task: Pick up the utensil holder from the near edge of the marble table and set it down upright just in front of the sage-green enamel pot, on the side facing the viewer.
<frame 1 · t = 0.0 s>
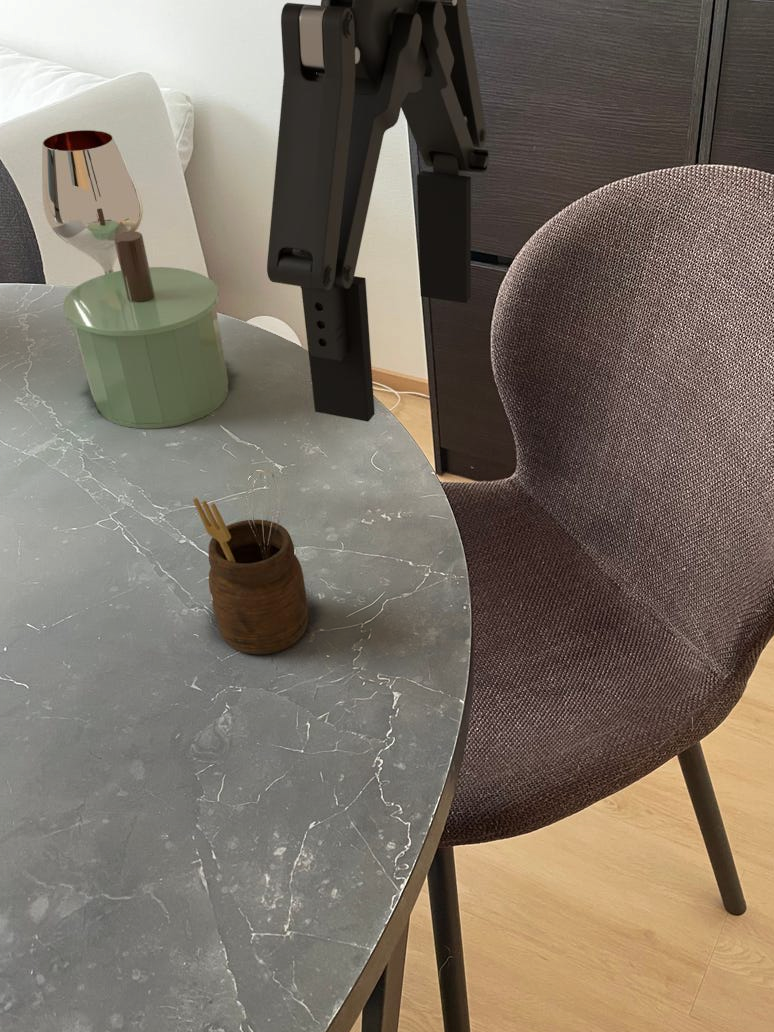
hand: (399, 350, 53), 21 cm above the table, tool pointing down, fingers open, 13 cm apart
pot lid: (142, 302, 86), point 8 cm above the table, touching pot
pot: (162, 395, 92), on the table
utensil holder: (263, 631, 69), on the table
wineglass: (125, 342, 100), on the table
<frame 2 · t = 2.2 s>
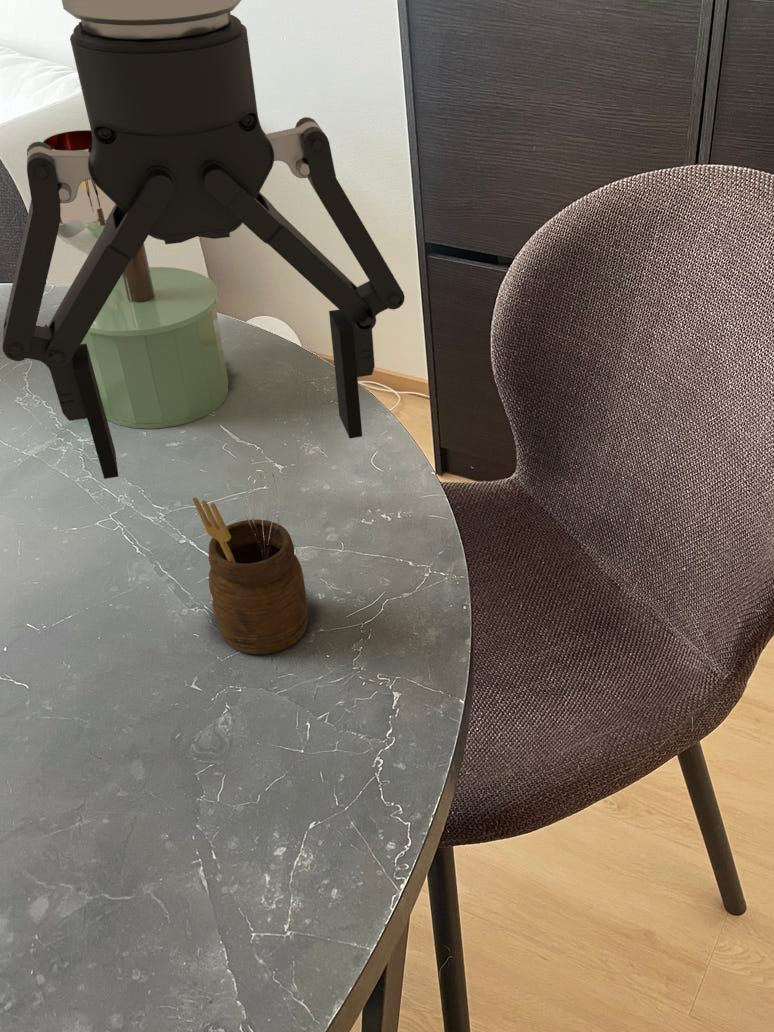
hand: (233, 445, 59), 14 cm above the table, tool pointing down, fingers open, 13 cm apart
nothing on the table moved.
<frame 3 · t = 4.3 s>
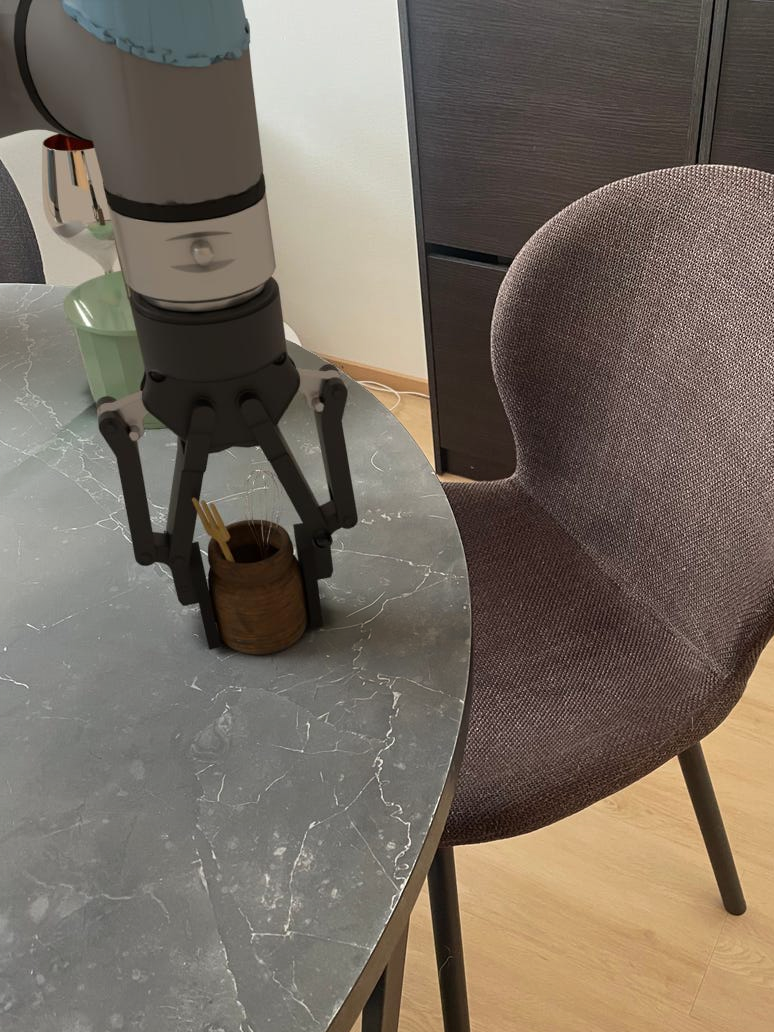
hand: (263, 624, 68), 0 cm above the table, tool pointing down, fingers closed on utensil holder, 6 cm apart
utensil holder: (263, 631, 69), on the table, touching gripper
everything else where it was.
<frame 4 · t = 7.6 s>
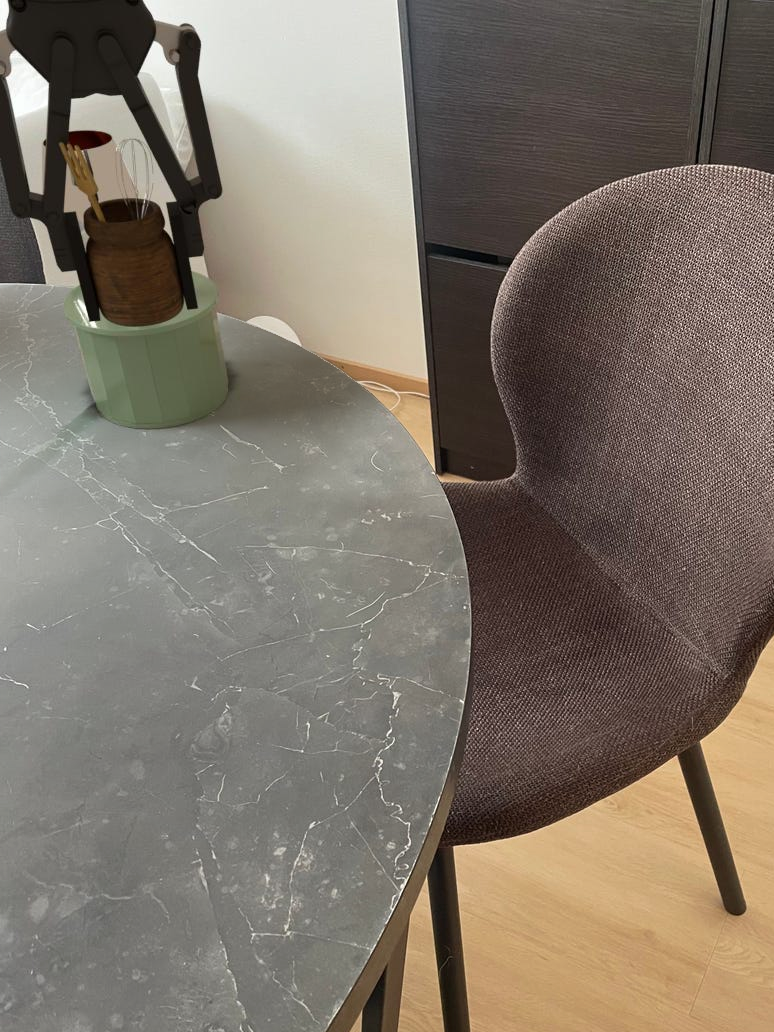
hand: (142, 306, 74), 14 cm above the table, tool pointing down, fingers closed on utensil holder, 6 cm apart
utensil holder: (143, 314, 74), point 13 cm above the table, touching gripper
everything else where it was.
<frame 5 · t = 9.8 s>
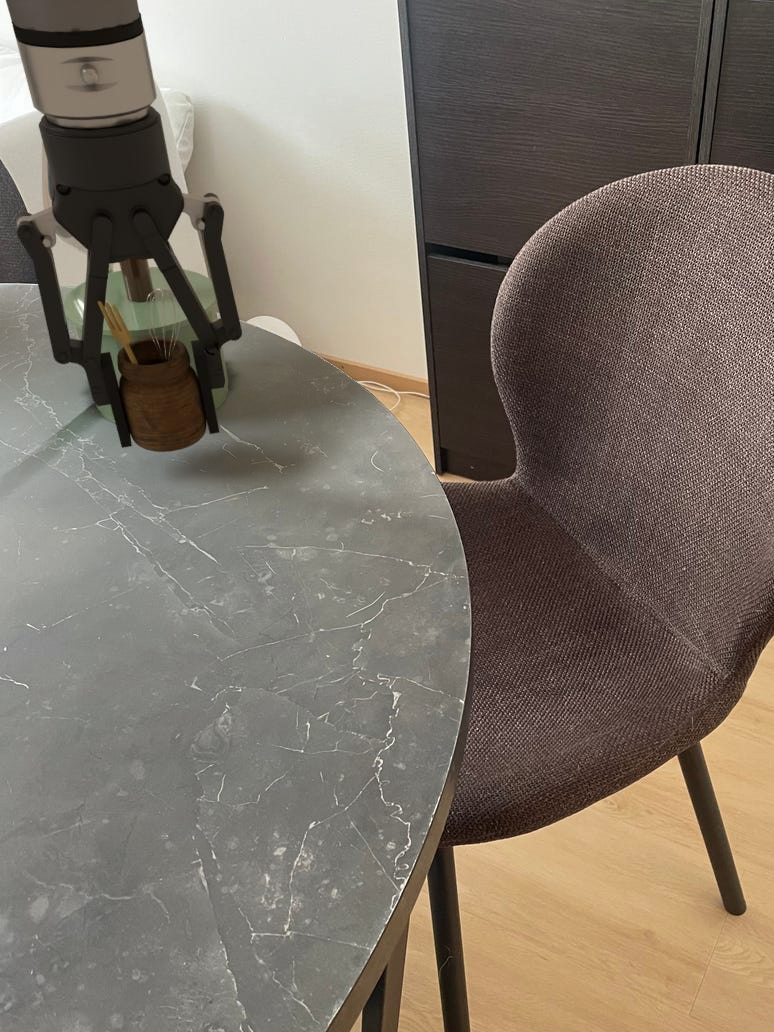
hand: (169, 431, 81), 3 cm above the table, tool pointing down, fingers closed on utensil holder, 6 cm apart
utensil holder: (169, 437, 82), point 2 cm above the table, touching gripper
everything else where it was.
when the fingers open (0 cm above the table, at t = 10.9 s): utensil holder stays where it is, on the table.
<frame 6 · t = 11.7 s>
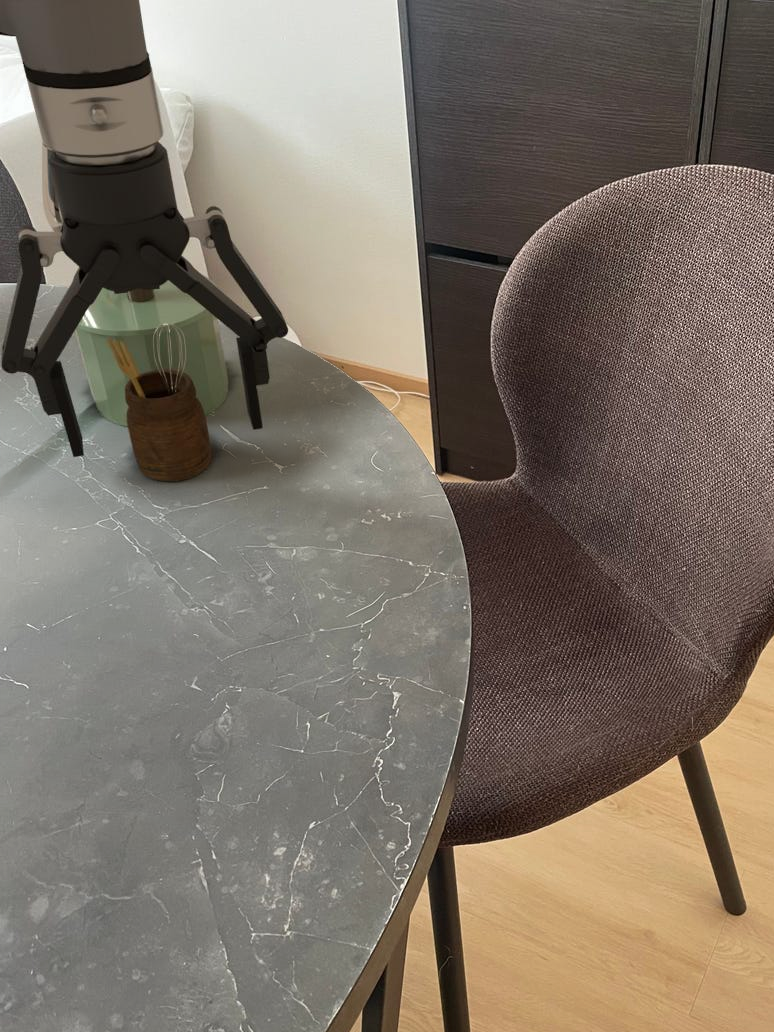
hand: (168, 434, 82), 3 cm above the table, tool pointing down, fingers open, 13 cm apart
utensil holder: (175, 466, 83), on the table
everything else where it was.
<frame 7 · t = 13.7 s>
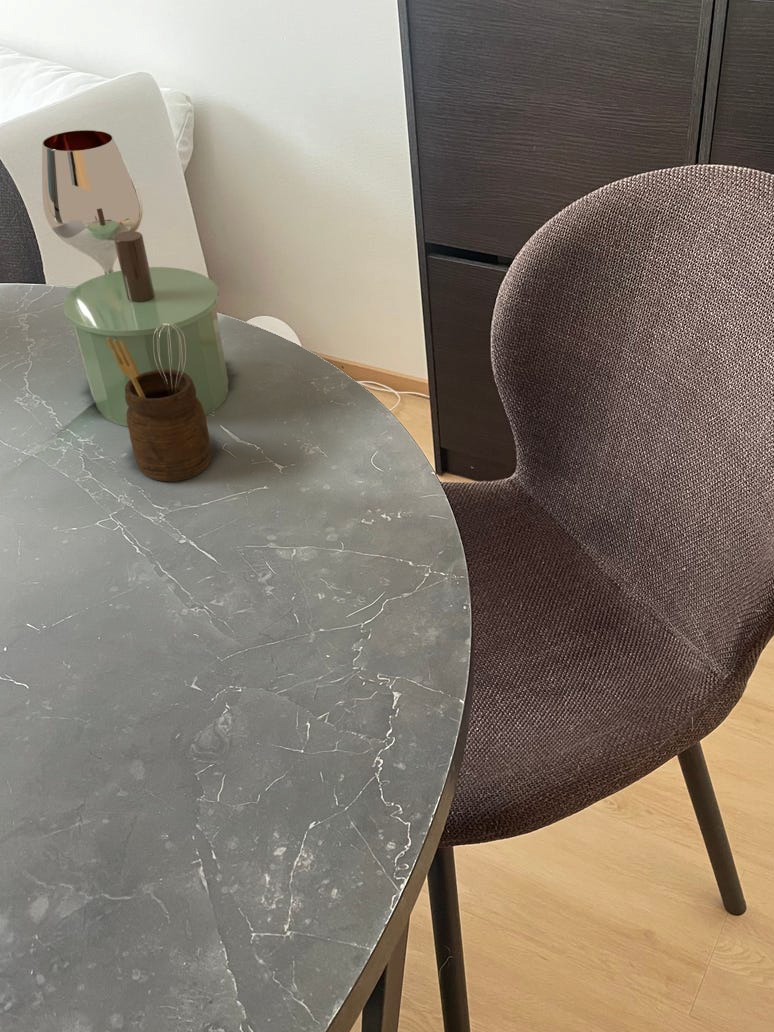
nothing on the table moved.
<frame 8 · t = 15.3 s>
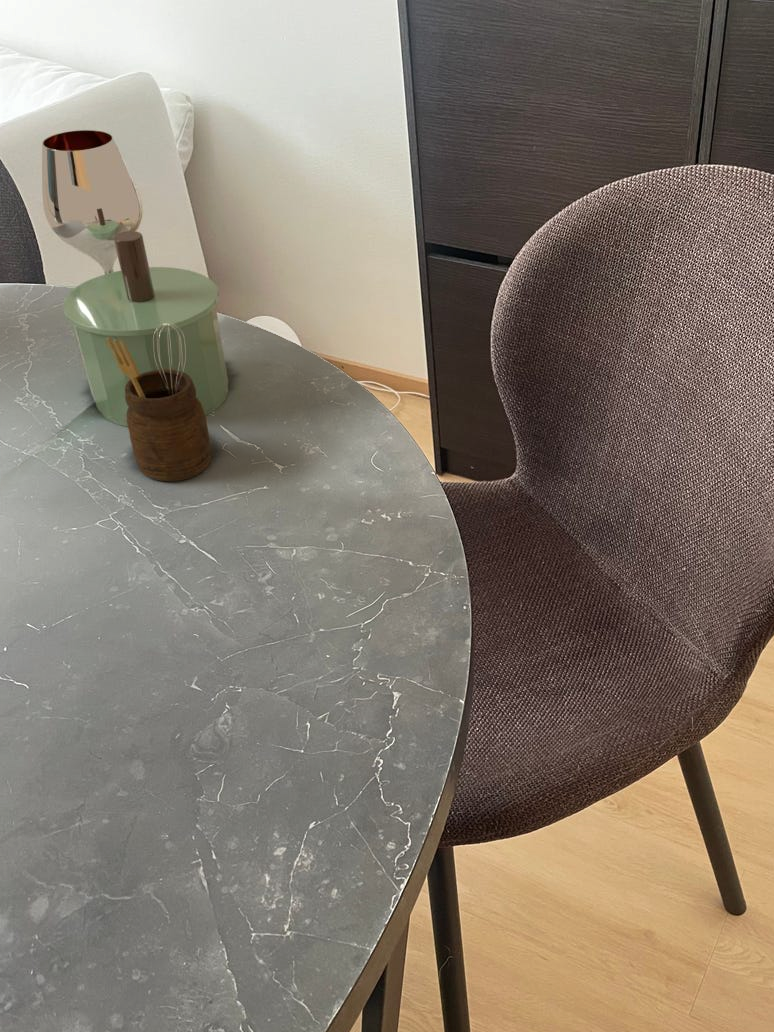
nothing on the table moved.
at the end: utensil holder 0.0 cm from the target spot on the table beside the pot, on the table; utensil holder tilted 0° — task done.
